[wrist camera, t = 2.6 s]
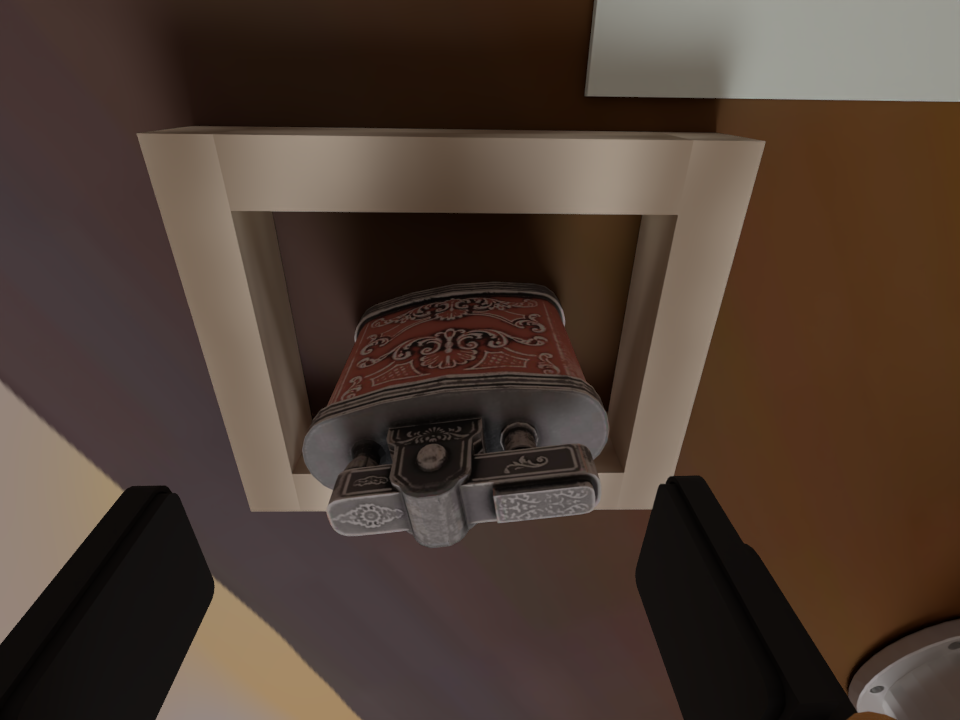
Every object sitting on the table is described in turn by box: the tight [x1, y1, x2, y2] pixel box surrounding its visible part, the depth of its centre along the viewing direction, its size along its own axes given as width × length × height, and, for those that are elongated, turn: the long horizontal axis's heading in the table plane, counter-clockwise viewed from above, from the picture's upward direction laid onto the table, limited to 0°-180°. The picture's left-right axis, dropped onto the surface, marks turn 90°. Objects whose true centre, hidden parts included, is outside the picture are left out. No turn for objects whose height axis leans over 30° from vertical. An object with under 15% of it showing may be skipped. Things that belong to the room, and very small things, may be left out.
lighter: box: [302, 282, 610, 548], centre depth 15 cm, size 8×3×10 cm, turn 97°
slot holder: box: [137, 126, 766, 511], centre depth 18 cm, size 17×14×3 cm
